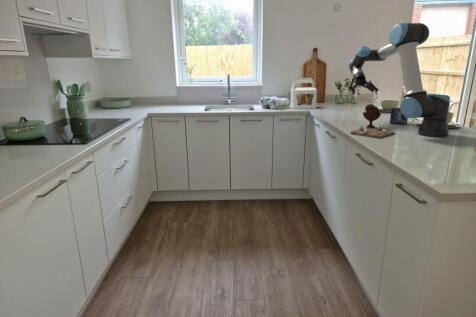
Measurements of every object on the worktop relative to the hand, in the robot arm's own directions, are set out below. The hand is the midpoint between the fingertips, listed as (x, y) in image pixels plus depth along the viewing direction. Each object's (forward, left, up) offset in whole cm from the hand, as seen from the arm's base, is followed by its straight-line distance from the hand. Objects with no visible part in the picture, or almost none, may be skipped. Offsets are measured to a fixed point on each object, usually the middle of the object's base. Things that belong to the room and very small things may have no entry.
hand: (366, 97), depth 208 cm
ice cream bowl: (-5, 0, -19) cm, 20 cm away
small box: (-12, -24, -19) cm, 33 cm away
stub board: (-16, +18, -19) cm, 30 cm away
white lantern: (+88, -45, -19) cm, 101 cm away
